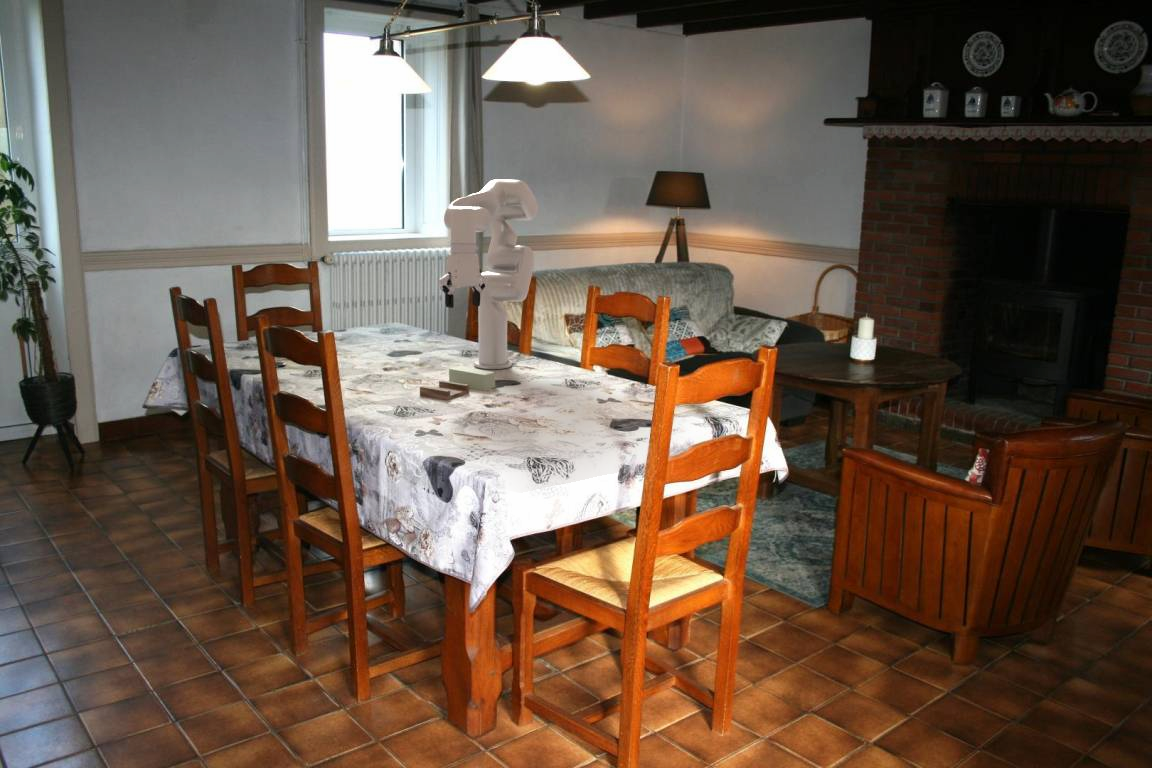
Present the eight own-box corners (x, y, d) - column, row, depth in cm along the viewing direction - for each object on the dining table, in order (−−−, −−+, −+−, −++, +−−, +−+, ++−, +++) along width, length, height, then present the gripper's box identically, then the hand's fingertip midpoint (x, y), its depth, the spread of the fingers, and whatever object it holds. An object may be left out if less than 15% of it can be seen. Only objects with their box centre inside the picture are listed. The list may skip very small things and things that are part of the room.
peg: (459, 381, 308) (459, 366, 307) (495, 388, 300) (495, 372, 299) (449, 384, 304) (449, 368, 303) (484, 391, 296) (484, 375, 295)
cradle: (442, 388, 297) (442, 380, 297) (469, 392, 293) (468, 384, 292) (419, 395, 289) (419, 387, 288) (447, 400, 284) (447, 391, 283)
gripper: (479, 248, 304) (479, 303, 307) (431, 249, 292) (431, 306, 295) (494, 249, 298) (493, 306, 301) (446, 250, 287) (446, 309, 290)
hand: (463, 306), depth 298 cm, fingers open, 9 cm apart
